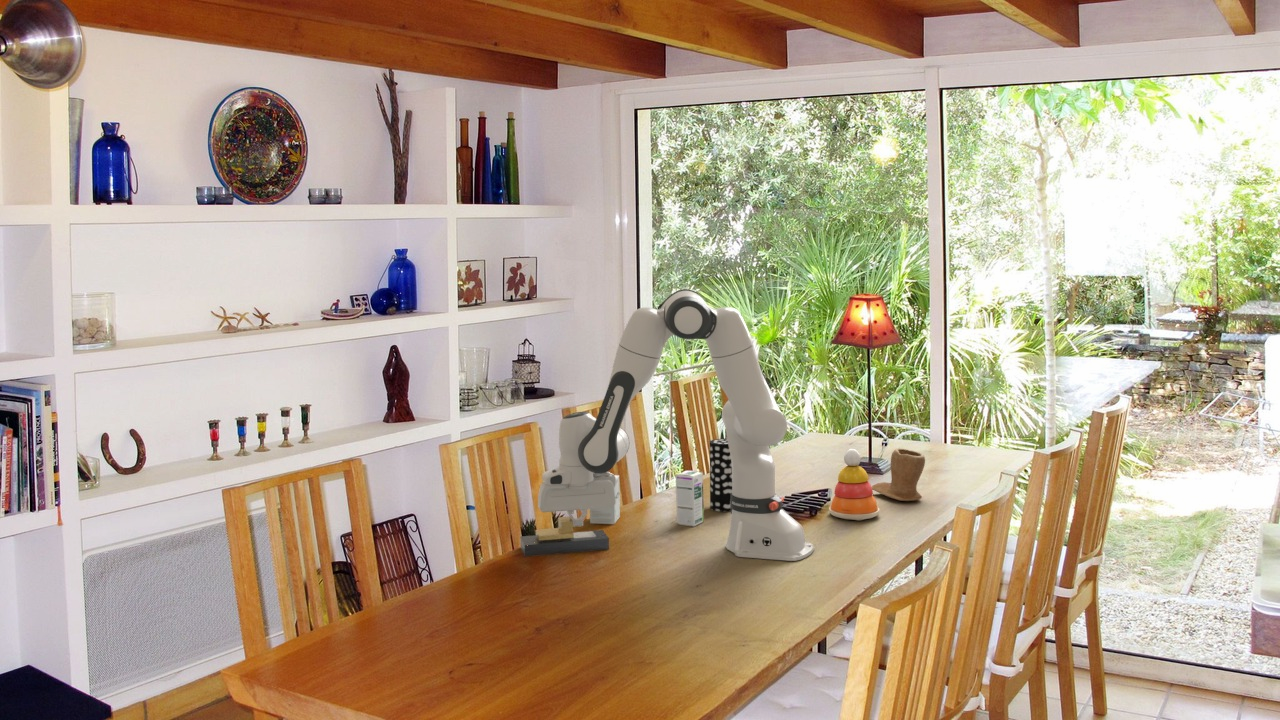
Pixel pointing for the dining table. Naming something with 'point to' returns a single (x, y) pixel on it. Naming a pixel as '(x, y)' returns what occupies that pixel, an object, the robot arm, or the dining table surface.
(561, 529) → the lever cap
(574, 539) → the body
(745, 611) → the dining table surface
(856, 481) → the stacking toy
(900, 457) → the brown top hat
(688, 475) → the syrup box
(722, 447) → the spotted tube
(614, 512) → the supplement box
